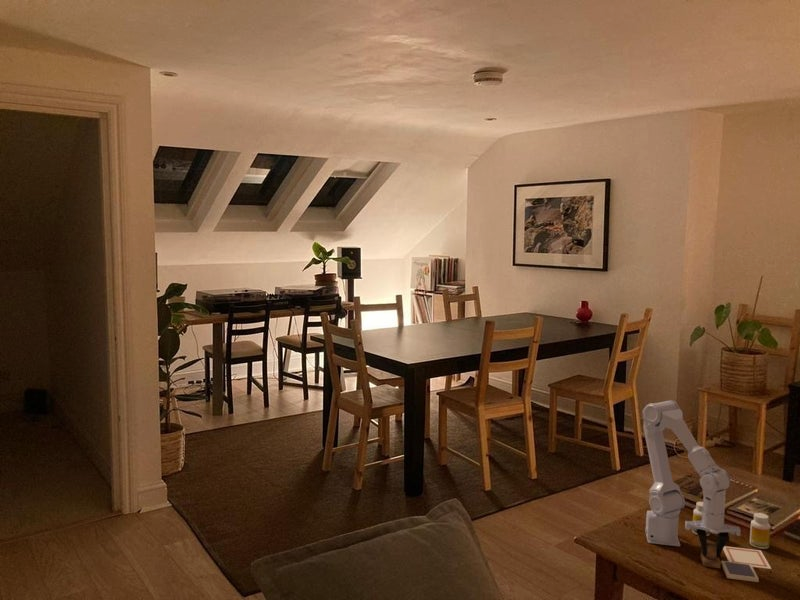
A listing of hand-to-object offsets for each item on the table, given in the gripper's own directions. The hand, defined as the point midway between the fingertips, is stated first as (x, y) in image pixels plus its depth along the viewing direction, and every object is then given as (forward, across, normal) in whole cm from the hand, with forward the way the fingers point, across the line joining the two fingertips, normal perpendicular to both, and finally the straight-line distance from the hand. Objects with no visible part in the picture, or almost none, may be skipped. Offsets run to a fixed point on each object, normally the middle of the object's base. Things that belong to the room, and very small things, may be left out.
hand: (710, 554), depth 191 cm
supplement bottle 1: (+3, +1, +20) cm, 20 cm away
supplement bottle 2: (+3, +17, +16) cm, 24 cm away
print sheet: (+3, +11, +6) cm, 13 cm away
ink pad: (+3, +7, -4) cm, 8 cm away
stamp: (+3, 0, 0) cm, 3 cm away
